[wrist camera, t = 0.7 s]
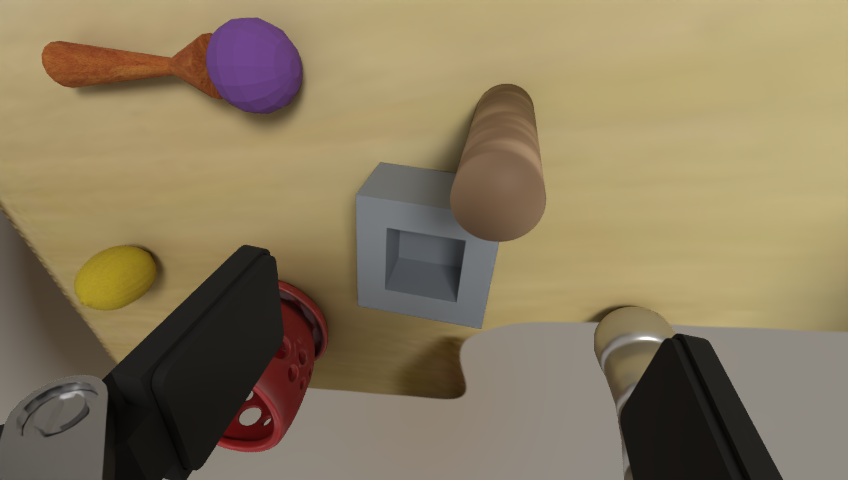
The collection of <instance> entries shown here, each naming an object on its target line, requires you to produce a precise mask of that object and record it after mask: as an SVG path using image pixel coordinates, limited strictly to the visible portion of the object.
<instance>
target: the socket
mask: <svg viewBox="0 0 848 480" xmlns="http://www.w3.org/2000/svg"><path fill="white" fill-rule="evenodd" d="M455 176H456V173H450V172H443V171H437V170H430V169H423V168H416V167H409V166H402V165H395V164H388V163H381V162H380V163H379V165H378V166H377V167H376V169H375V170H374V171H373V173H372V174H371V175H370V177H369V178H368V179H367V181H366V182H365V183H364V185H363V186H362V187H361V189H360V190H359V191H358V193H357V194H356V231H357V284H358V306H361V307H367V308H372V309H377V310H383V311H388V312H393V313H398V314H404V315H409V316H414V317H420V318H425V319H430V320H436V321H441V322H446V323H452V324H457V325H462V326H468V327H473V328H478V329H481V328H482V323H483V318H484V313H485V308H486V304H487V299H488V294H489V289H490V284H491V279H492V274H493V270H494V265H495V260H496V255H497V250H498V245H499V242H493V241H486V240H483V239H480V238H477V237H475V236H473V235H471V234H470V233H468V232H467V231H466V230H464V229H463V228H462V227H461V226H460V225H459V223H458V222H457V221H456V219H455V217H454V215H453V213H452V210H451V205H450V193H451V189H452V185H453V182H454V179H455Z"/></svg>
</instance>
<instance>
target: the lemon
mask: <svg viewBox="0 0 848 480" xmlns="http://www.w3.org/2000/svg"><path fill="white" fill-rule="evenodd" d="M155 276H156V265H155V262H154V260H153V259H152V257H151V254H150V253H148V252H145V251H144V250H142V249H140V248H137V247H134V246H126V245H125V246H115V247H111V248H109V249H106V250H104V251H101V252H100V253H98V254H96V255H95V256H93V257H92V258H91V259H89V260H88V261H87V262H86V263H85V264H84V266H83V267H82V268H81V269H80V270H79V272H78V273H77V275H76V278H75V282H74V288H75V293H76V295H77V297H78V299H79V302H80V303H81V304H82V305H84V306H88V307H90V308H93V309H97V310H105V311H107V310H115V309H119V308H122V307H124V306H126V305H128V304H130V303H132V302H134V301H136V300H137V299H139V298H140V297H141V296H143V295H144V294H145V293H146V292H147V291H148V289H149V288H150V287H151V285H152V284H153V282H154V280H155Z"/></svg>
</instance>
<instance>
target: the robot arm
mask: <svg viewBox="0 0 848 480" xmlns="http://www.w3.org/2000/svg"><path fill="white" fill-rule="evenodd" d="M283 338H284V327H283V318H282V309H281V301H280V292H279V283H278V274H277V265H276V259H275V257H273V256H271V255H270V252H269V251H268V250H267V249H264V248H259V247H254V246H249V245H243V246H241V247H240V248H239V249H238V250H237V251H236V252H235V253H234V254H233V255H232V256H230V257H229V258H228V259H227V260H226V261H225V262H224V263H223V264H222V265H221V266H220V267H219V268H218V269H217V270H216V271H215V272H214V273H213V274H212V275H211V276H210V277H209V278H208V279H206V280H205V281H204V282H203V283H202V284H201V285H200V286H199V287H198V288H197V289H196V290H195V291H194V292H193V293H192V294H191V295H190V296H189V297H188V298H187V299H186V300H185V301H184V302H183V303H181V304H180V305H179V306H178V307H177V308H176V309H175V310H174V311H173V312H172V313H171V314H170V315H169V316H168V317H167V318H166V319H165V320H164V321H163V322H162V323H161V324H160V325H159V326H158V327H156V328H155V329H154V330H153V331H152V332H151V333H150V334H149V335H148V336H147V337H146V338H145V339H144V340H143V341H142V342H141V343H140V344H139V345H138V346H137V347H136V348H135V349H134V350H133V351H131V352H130V353H129V354H128V355H127V356H126V357H125V358H124V359H123V360H122V361H121V362H120V363H119V364H118V365H117V366H116V367H115V368H114V369H113V370H112V371H111V372H110V373H109V374H108V375H107V376H106V377H105V378H104V379H103V380H101V379H99V378H96V377H93V376H87V375H86V376H84V375H76V376H71V377H65V378H62V379H59V380H56V381H53V382H51V383H48V384H46V385H45V386H42V387H41V388H39V389H37V390H35V391H33V392H32V393H31V394H29V395H28V396H27V397H25V398H24V399H23V400H22V401H20V402H19V403H18V405H17V406H16V407H15V408H14V409H13V410H12V411H11V413H10V414H9V416H8V418H7V421H6V422H5V424H3V425H0V480H162V479H163V478H165V479H168V480H187V478H188V477H189V475H190V474H191V472H192V470H198V469H200V468H201V467H202V466H203V465H204V463H205V462H206V460H207V459H208V457H209V456H210V454H211V452H212V451H213V450H214V448H215V447H216V445H217V443H218V442H219V440H220V439H221V437H222V436H223V434H224V433H225V431H226V430H227V428H228V426H229V425H230V423H231V422H232V420H233V419H234V417H235V416H236V414H237V413H238V411H239V410H240V408H241V406H242V405H243V403H244V402H245V400H246V398H247V397H248V396H249V394H250V393H251V391H252V389H253V388H254V386H255V385H256V383H257V382H258V380H259V379H260V377H261V376H262V374H263V373H264V371H265V369H266V368H267V366H268V365H269V363H270V362H271V360H272V359H273V357H274V356H275V354H276V352H277V351H278V349H279V348H280V346H281V344H282V342H283ZM620 425H621V429H622V434H623V438H624V442H625V447H626V451H627V455H628V459H629V464H630V468H631V472H632V477H633V480H783V479H782V477H781V475H780V473H779V471H778V469H777V467H776V466H775V464H774V462H773V460H772V458H771V456H770V455H769V453H768V451H767V449H766V447H765V445H764V443H763V441H762V439H761V438H760V436H759V434H758V432H757V430H756V428H755V426H754V425H753V422H752V421H751V419H750V417H749V415H748V413H747V411H746V409H745V408H744V406H743V404H742V402H741V400H740V398H739V397H738V394H737V393H736V391H735V389H734V387H733V385H732V383H731V381H730V379H729V377H728V376H727V374H726V372H725V370H724V368H723V366H722V364H721V363H720V361H719V359H718V357H717V355H716V353H715V351H714V349H713V347H712V346H711V344H710V343H709V341H708V340H706V339H703V338H698V337H693V336H689V335H684V334H675V335H673V337H672V338H666V339H664V341H663V342H662V343H661V345H660V347H659V348H658V350H657V352H656V353H655V355H654V357H653V358H652V360H651V362H650V363H649V365H648V367H647V368H646V370H645V372H644V373H643V375H642V377H641V378H640V380H639V382H638V383H637V385H636V387H635V388H634V390H633V392H632V393H631V395H630V397H629V398H628V400H627V402H626V403H625V405H624V406H623V408H622V410H621V414H620Z"/></svg>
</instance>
